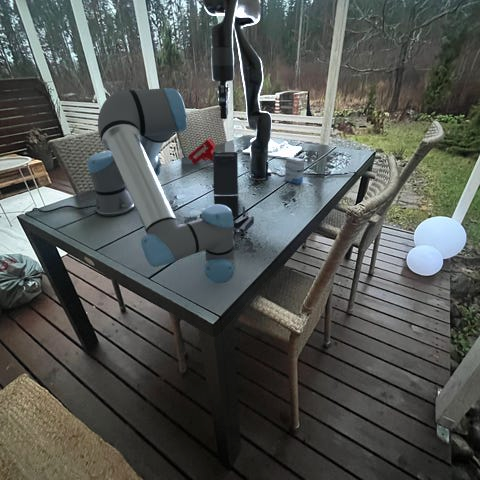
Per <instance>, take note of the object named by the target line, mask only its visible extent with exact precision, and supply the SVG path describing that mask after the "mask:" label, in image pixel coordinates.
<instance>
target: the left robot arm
mask: <svg viewBox="0 0 480 480" xmlns="http://www.w3.org/2000/svg"><path fill="white" fill-rule="evenodd" d="M187 126H188V117H187V110H186V106H185V103H184V100H183V97H182V95H181V94H180V92H179V91H178V89H175V88H166V87H163V88H162V87H161V88H148V89H147V88H146V89H123V90H118V91H116V92H114V93H112V94H111V95H109V96H108V97H107V98H106V99H105V100H104V102H103V103H102V105H101V107H100V109H99V113H98V118H97V131H98V135H99V139H100V140H101V143H102V145H103V147H104V148H105V149H106V150H103V151H100V152H97V153H94V154H92V155H90V156H89V157H88V158H87V160H86V164H87V169H88V173H89V175H90V178H91V182H92V185H93V188H94V191H95V194H96V197H95V204H92V205H86V206H79V207H78V206H74V205H70V204H69V205H62V206H59V207H56V208H52V209H50V210H43V209H40V208H38V207H33V208H32V209H31V211H32V212H34V211H35V210H36V211H38V212H41V213H53V212H56V211H58V210H60V209H64V208H73V209H75V210H84V209H89V208H95V210H96V213H97V214H98V216H101V217H117V216H122V215H126V214H128V213H130V212H132V211H133V210H134V209H135V210H136V213H137V215H138V217H139V219H140V221H141V223H142V226H143V229H144V231H145V232H146V233H145V234H146V235H143V236H142V237H141V240H140V243H141V248H142V251H143V254H144V256H145V259H146V261H147V262H148V264H149V265H150V266H151V267H153V268H158V267H161V266H165V265H169V264H173V263H174V262H177V261H179V260H181V259H184V258H187V257H190V256H192V255H195V254H198V253H201V252H203V251H205V264H204V274H205V277H206V278H207V279H208V280H209V281H211V282H213V283H215V284H223V283H227V282H229V281H230V280H231V279H232V278H233V276H234V272H235V267H236V266H235V248H236V247H235V246H236V245H235V244H236V243H235V241H236V235H240V236H241V237H245V235H246V232H247V231H249V229H250V228H251V227H252V226H253V225H255V224H254V223H255V216H254V215H250V216H249V212H247V211H246V207H245V206H242V217H240V218H238V219H237V220H234V216H233V215H232V211H231V209H230V208H228V207H227V206H225V205H220V204H215V205H214V204H209V205H207V206H205V207H204V208H203V209H202V210H201V213H200V214H199V216H194V217H193V218H194V220H193V221H189V222H186V223H183V224H180V223H179V221H178V219H177V216H176V214H175V213H174V210H173V208H172V206H171V204H170V202H169V200H168V198H167V196H166V193H165V192H164V189H163V187H162V185H161V183H160V181H159V179H158V176H159V175H160V174H161V170H162V163H161V159H160V156H159V153H160V151H161V149H162V146H163V144H164V143H167V142H168V141H170V140H171V138H173V135H174V134H175V133H181V132H185V130H187ZM37 209H38V210H37Z"/></svg>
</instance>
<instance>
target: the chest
mask: <svg viewBox="0 0 480 480" xmlns="http://www.w3.org/2000/svg"><path fill="white" fill-rule="evenodd" d="M213 203H214V204H213V205H215V204H220V205H225V206H227V207H228V208H230V209H231V211H232V215H233V217H239V194H238V195H214V194H213Z"/></svg>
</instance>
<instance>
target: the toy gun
mask: <svg viewBox="0 0 480 480" xmlns="http://www.w3.org/2000/svg"><path fill="white" fill-rule="evenodd" d="M216 147H217V145H216V143H215V142H214V141H213V140H212V139H211V138H208V139H206V140H205V141H204V142H203V143H201V144H200V145H199V146H198V147H197V148H196V149H194V151H192V152H191V153H190V154H188V159H189V160H190V161H191V162H192V163H193V164H197V163H198V162H200V161H201V160H202V161H204V162H205V161H207V160H209V161H211V162H212V163H213V152H215V149H216Z"/></svg>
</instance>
